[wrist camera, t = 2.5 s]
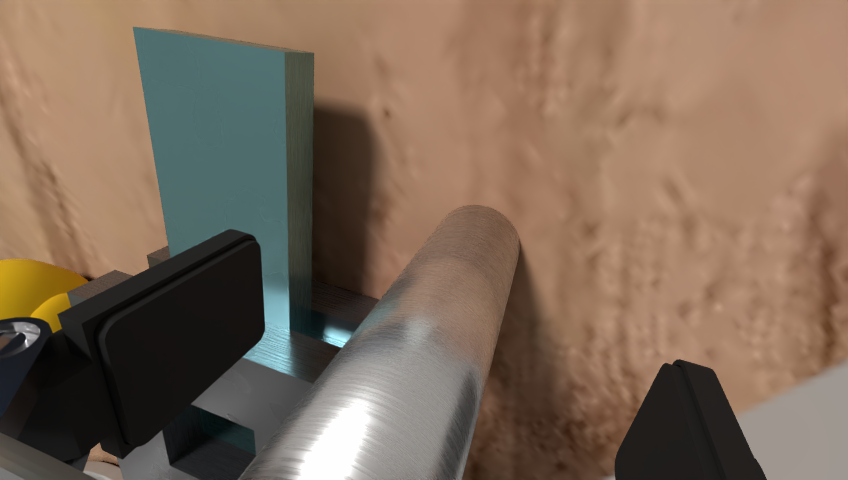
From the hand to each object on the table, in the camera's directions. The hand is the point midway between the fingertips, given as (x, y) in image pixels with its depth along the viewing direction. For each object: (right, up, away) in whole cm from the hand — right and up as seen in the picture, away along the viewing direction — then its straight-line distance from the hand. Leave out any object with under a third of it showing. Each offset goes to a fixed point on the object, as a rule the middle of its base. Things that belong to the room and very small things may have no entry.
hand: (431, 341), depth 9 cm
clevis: (-7, -1, +9) cm, 11 cm away
